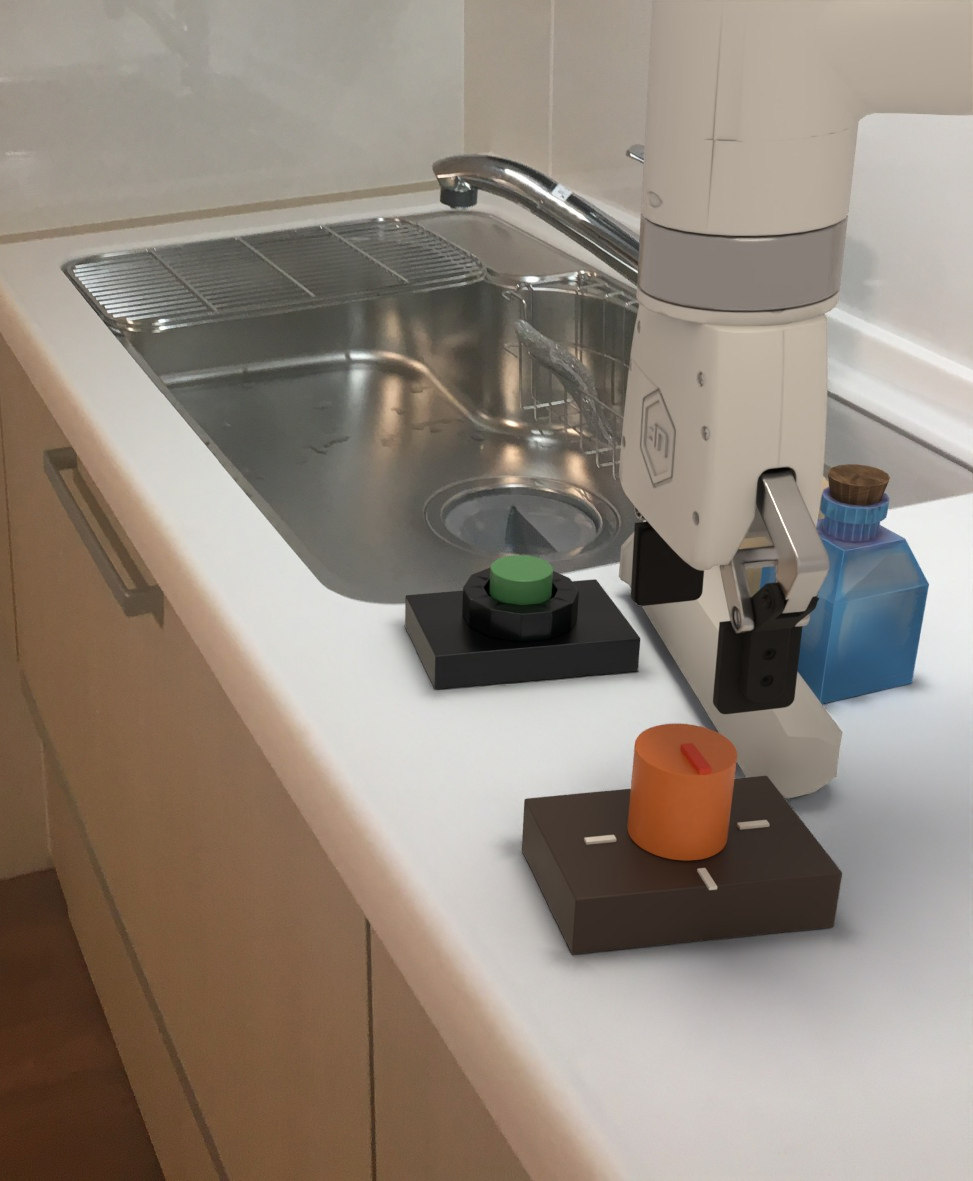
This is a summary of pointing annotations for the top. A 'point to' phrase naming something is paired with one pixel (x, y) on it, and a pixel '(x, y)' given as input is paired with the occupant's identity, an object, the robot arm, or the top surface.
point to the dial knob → (681, 791)
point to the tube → (762, 738)
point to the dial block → (677, 873)
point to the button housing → (519, 634)
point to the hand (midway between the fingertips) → (706, 650)
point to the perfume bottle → (861, 593)
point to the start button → (521, 580)
